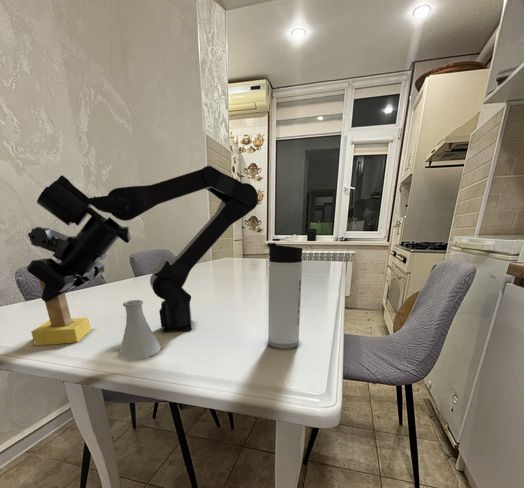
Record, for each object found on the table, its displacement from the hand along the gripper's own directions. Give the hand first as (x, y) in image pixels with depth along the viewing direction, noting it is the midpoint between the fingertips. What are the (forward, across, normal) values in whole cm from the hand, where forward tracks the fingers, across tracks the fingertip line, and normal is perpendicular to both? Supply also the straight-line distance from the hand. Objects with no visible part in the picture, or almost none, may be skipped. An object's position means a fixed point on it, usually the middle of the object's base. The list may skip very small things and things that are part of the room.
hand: (48, 298), depth 61 cm
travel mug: (-28, +9, +40) cm, 50 cm away
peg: (+4, 0, +6) cm, 7 cm away
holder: (+5, 0, +7) cm, 9 cm away
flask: (-8, +10, +21) cm, 25 cm away
